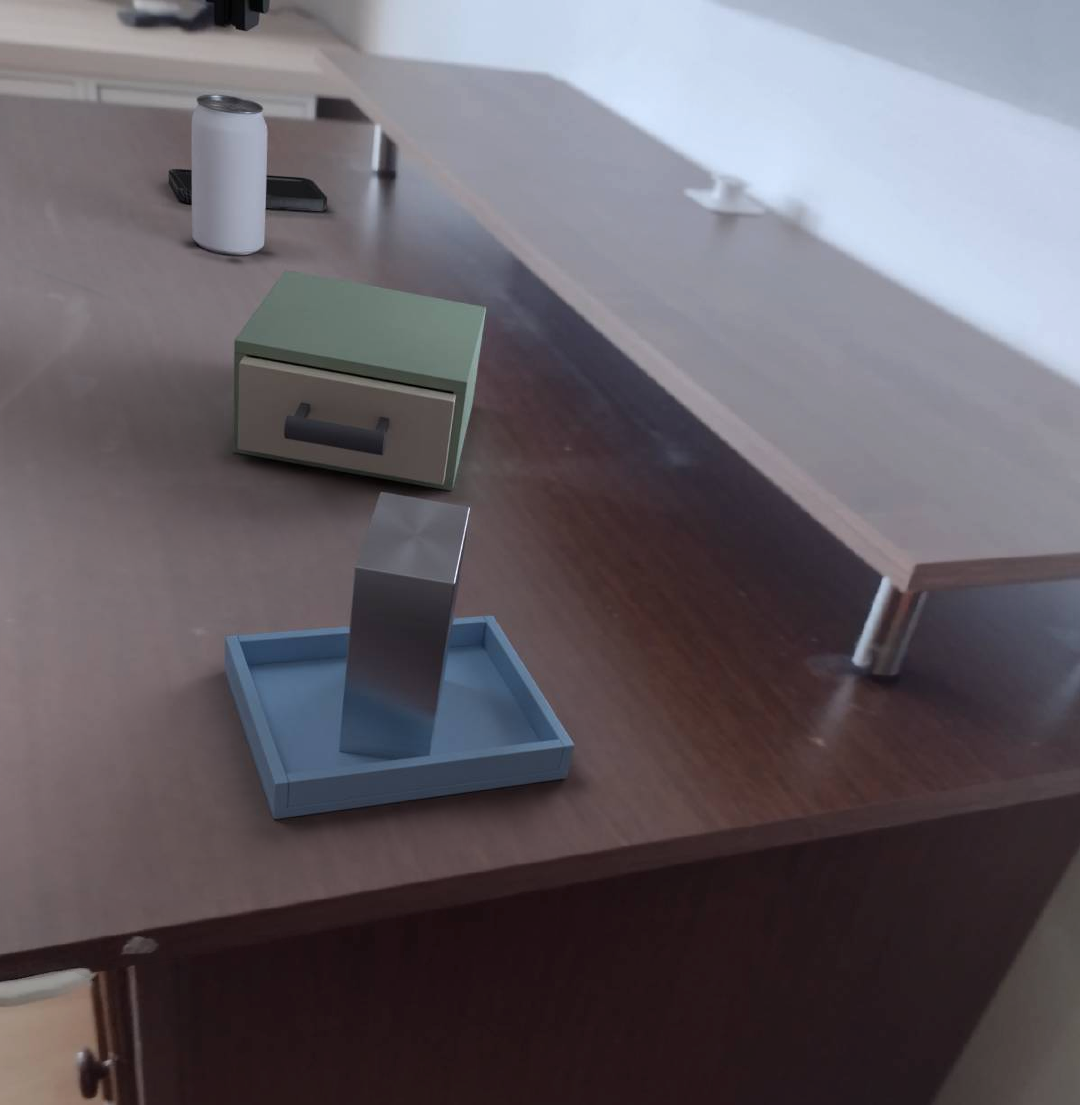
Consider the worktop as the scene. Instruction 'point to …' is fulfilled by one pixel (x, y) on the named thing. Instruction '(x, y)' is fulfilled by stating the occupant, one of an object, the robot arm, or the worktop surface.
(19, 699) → the worktop surface
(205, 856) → the worktop surface
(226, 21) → the robot arm
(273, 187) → the phone
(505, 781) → the tray
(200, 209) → the can
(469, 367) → the cabinet
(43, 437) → the worktop surface
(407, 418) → the drawer
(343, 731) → the brushed metal block
